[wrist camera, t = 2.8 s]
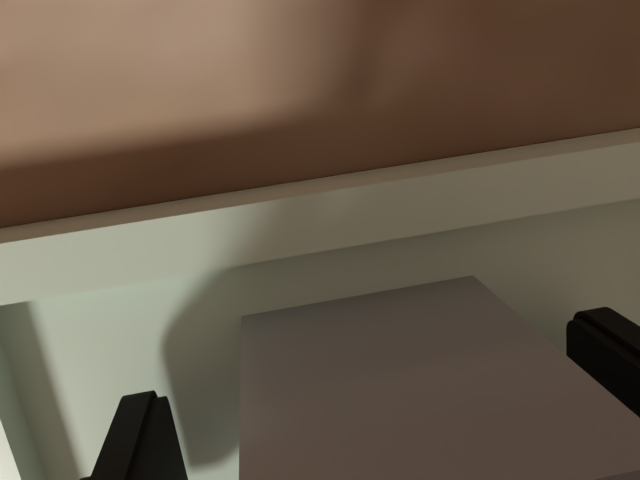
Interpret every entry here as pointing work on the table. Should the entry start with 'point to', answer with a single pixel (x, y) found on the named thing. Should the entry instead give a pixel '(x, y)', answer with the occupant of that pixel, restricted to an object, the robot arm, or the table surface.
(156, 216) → the parts tray
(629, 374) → the robot arm
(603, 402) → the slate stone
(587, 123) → the table surface
